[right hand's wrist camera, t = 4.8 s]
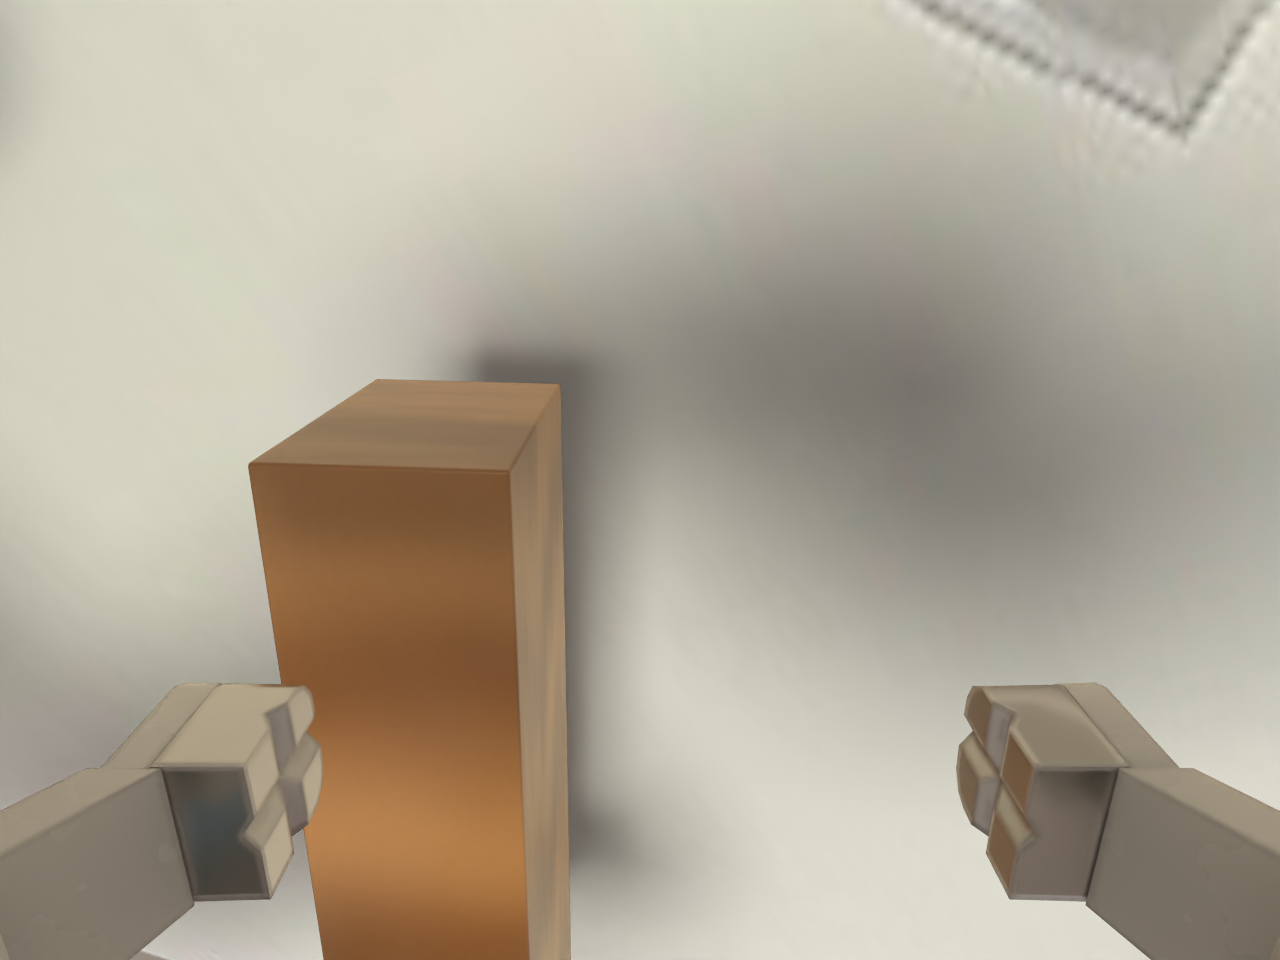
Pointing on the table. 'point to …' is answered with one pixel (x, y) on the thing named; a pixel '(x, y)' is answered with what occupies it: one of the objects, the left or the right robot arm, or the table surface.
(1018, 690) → the right robot arm
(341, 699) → the bar
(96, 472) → the table surface
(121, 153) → the table surface
